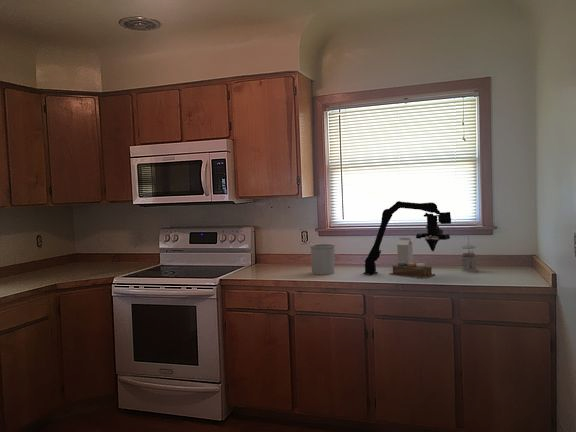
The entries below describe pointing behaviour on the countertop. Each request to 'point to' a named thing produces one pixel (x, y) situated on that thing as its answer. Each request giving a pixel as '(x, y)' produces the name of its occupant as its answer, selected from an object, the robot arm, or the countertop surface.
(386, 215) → the robot arm
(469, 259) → the french press
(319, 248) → the utensil holder
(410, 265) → the knob mid
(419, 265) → the knob
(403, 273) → the mount
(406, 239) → the milk carton
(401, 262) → the knob
